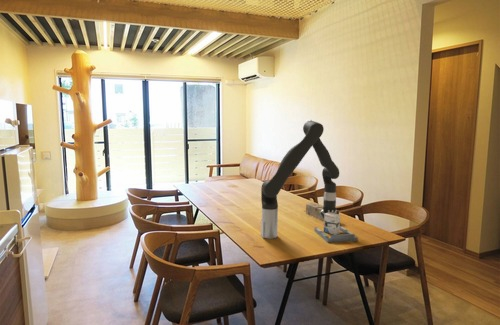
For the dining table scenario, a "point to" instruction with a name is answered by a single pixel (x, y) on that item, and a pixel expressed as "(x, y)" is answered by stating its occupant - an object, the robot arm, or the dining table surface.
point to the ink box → (332, 223)
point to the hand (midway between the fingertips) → (328, 225)
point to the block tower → (314, 210)
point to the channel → (337, 236)
